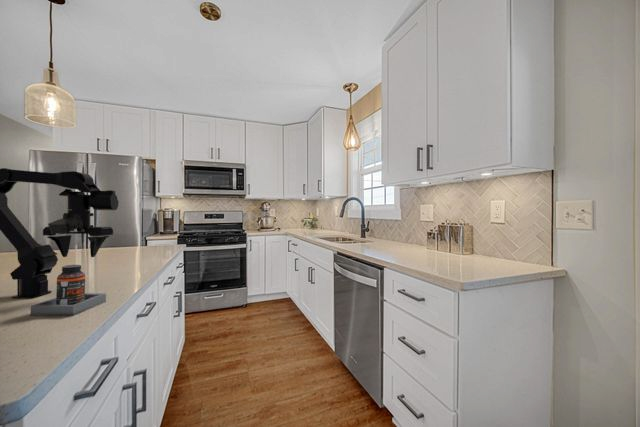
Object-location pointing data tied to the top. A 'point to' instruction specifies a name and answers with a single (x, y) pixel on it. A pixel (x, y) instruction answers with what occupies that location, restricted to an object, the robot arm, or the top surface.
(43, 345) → the top surface
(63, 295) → the supplement bottle
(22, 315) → the top surface
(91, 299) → the tray
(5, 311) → the top surface
